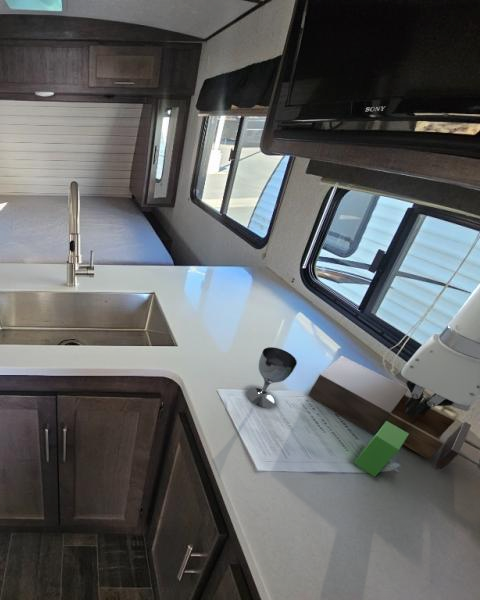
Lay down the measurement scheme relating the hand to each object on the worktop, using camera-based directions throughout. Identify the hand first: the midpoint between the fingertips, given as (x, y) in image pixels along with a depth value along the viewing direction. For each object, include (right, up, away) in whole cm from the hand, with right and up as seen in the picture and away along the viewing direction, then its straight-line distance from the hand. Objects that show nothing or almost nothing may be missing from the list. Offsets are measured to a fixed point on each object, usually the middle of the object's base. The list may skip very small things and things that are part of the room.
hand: (411, 412), depth 66 cm
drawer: (+16, -12, +13) cm, 24 cm away
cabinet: (+8, -6, +24) cm, 26 cm away
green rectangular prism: (-1, -15, +9) cm, 17 cm away
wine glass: (-17, -5, +25) cm, 31 cm away
